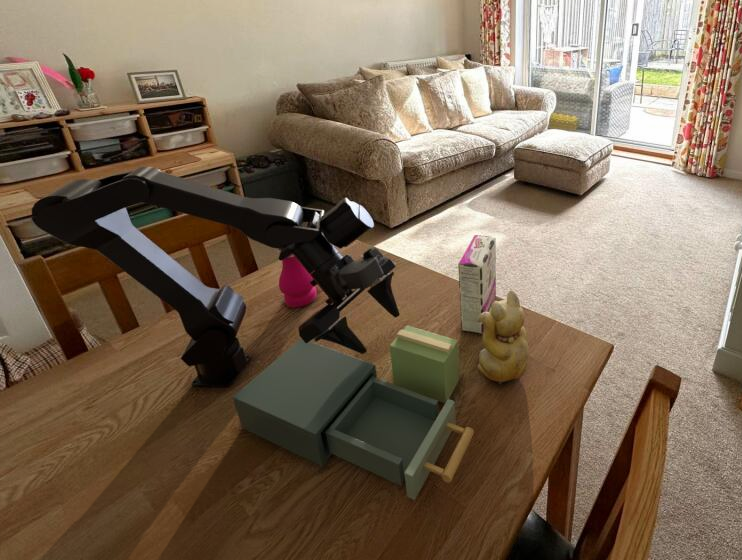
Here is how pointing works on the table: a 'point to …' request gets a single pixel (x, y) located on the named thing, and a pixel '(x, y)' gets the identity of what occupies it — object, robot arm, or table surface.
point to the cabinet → (302, 397)
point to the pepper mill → (296, 283)
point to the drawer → (397, 434)
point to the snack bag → (425, 363)
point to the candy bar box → (477, 282)
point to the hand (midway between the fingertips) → (382, 333)
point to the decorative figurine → (504, 340)
